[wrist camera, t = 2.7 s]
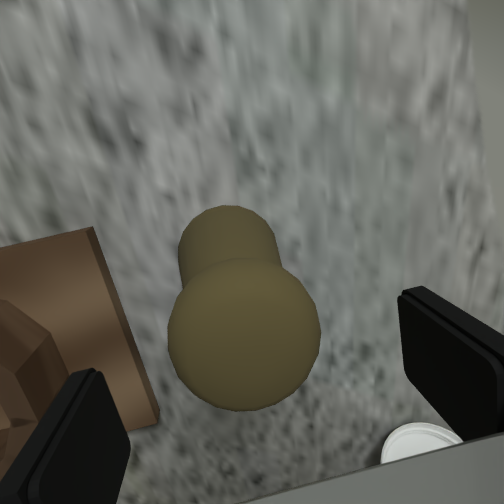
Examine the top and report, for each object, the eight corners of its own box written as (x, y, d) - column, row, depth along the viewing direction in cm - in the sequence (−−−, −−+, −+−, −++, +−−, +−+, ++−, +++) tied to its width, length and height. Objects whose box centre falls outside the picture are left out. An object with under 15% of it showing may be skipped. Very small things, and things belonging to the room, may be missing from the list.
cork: (186, 307, 21) (166, 459, 11) (169, 212, 19) (125, 283, 9) (281, 293, 22) (350, 424, 11) (273, 198, 20) (346, 251, 10)
